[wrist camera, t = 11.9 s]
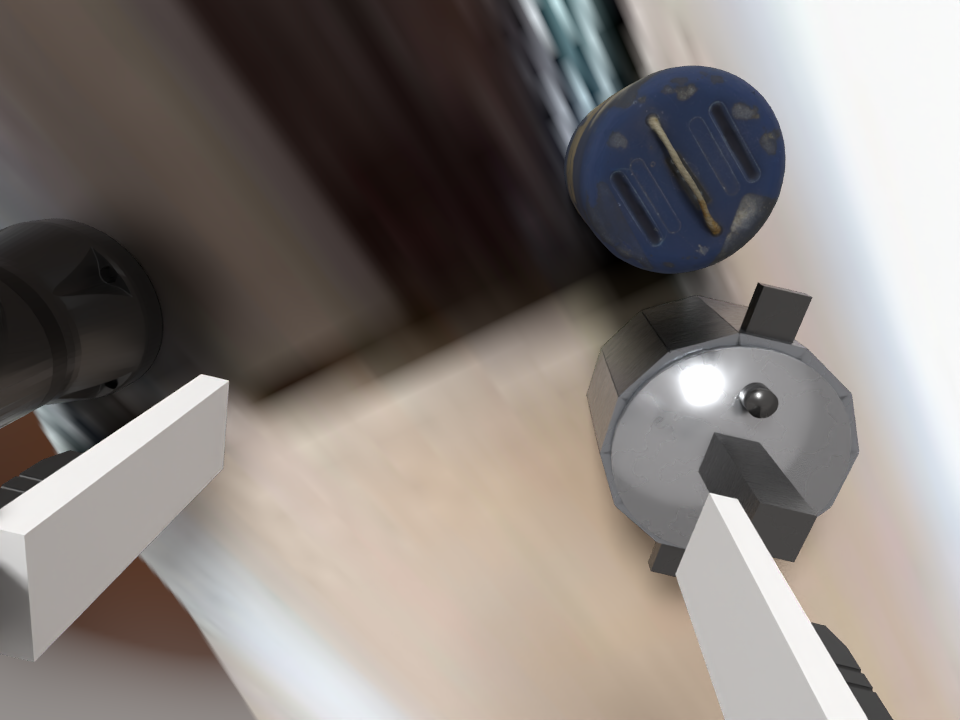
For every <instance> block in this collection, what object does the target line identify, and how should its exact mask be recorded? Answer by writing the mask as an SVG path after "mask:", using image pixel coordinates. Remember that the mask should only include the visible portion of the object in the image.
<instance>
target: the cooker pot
mask: <svg viewBox="0 0 960 720" xmlns="http://www.w3.org/2000/svg"><path fill="white" fill-rule="evenodd" d="M811 299H812V297H811V296H809V295H807V294H805V293H801V292H797V291H792V290H788V289H784V288H779V287H775V286H771V285H766V284H762V283H758V284H757V286H756V289H755V291H754V294H753V297H752V299H751V302H750V304H749V307H745V306H741V305H736V304H732V303H728V302H723V301H719V300H715V299H711V298H706V297H702V296H698V295H697V296H696V295H695V296H691V297H688V298H684V299H680V300H677V301H673V302H670V303H666V304H662V305H659V306H655V307H652V308H648V309H644V310H642V312H641V311H640V312H639V313H638V314H637V315H636V316H634V317H633V318H632V319H631V320H630V321H629V322H628V323H627V324H626V325H625V326H624V327H623V328H622V329H621V330H619V331H618V332H617V333H616V334H615V335H614V336H613V337H612V338H611V339H610V340H609V341H608V342H607V343H606V344H605V345H603V346H602V348H601V350H600V353H599V356H598V360H597V363H596V366H595V369H594V373H593V376H592V379H591V382H590V386H589V389H588V392H587V398H588V403H589V407H590V411H591V416H592V420H593V425H594V429H595V434H596V438H597V442H598V447H599V451H600V455H601V459H602V462H603V466H604V469H605V473H606V476H607V480H608V483H609V487H610V491H611V494H612V498H613V501H614V505H615V506H616V507H617V508H618V509H619V510H620V511H622V512H623V513H624V514H625V515H626V516H627V517H628V518H630V519H631V520H632V521H633V522H634V523H635V524H636V525H638V526H639V527H640V528H641V529H642V530H643V531H644V532H646V533H647V534H648V535H649V536H650V537H651V538H652V539H654V540H655V541H656V543H655V546H654V549H653V551H652V554H651V556H650V559H649V561H648V563H649V567H650V570H651V571H653V572H657V573H661V574H665V575H670V576H674V577H676V575H675V574H676V572H677V569H678V567H679V564H680V562H681V560H682V557H683V555H684V552H685V550H686V548H684V547H681V546H677V545H675V544H672V543H670V542H668V541H665V540H663V539H661V538H660V537H658V536H656V535H655V534H653V533H651V532H650V531H649V530H647V529H646V528H645V527H644V526H642V525H641V524H640V523H639V522H638V521H637V520H636V519H635V518H634V517H633V516H632V514H631V513H630V512H629V510H628V509H627V508H626V506H625V505H624V503H623V501H622V499H621V497H620V496H619V493H618V491H617V488H616V485H615V482H614V478H613V473H612V468H611V443H612V437H613V434H614V430H615V426H616V424H617V421H618V419H619V417H620V414H621V412H622V411H623V409H624V407H625V406H626V404H627V402H628V401H629V400H630V398H631V397H632V396H633V394H634V393H635V392H636V391H637V389H638V388H639V387H640V386H641V385H642V384H643V383H644V382H646V381H647V380H648V379H649V378H650V377H651V376H653V375H654V374H655V373H656V372H658V371H659V370H660V369H662V368H664V367H665V366H667V365H669V364H670V363H672V362H674V361H676V360H678V359H680V358H682V357H685V356H687V355H689V354H692V353H696V352H699V351H702V350H705V349H710V348H715V347H720V346H733V345H745V346H757V347H763V348H769V349H773V350H776V351H779V352H783V353H785V354H788V355H790V356H792V357H794V358H796V359H798V360H800V361H802V362H803V363H805V364H806V365H808V366H809V367H811V368H812V369H814V370H815V371H816V372H817V373H818V374H820V375H821V376H822V377H823V378H824V379H825V380H826V381H827V382H828V383H829V384H830V385H831V387H832V388H833V389H834V390H835V391H836V393H837V395H838V396H839V398H840V400H841V401H842V403H843V405H844V408H845V410H846V413H847V415H848V419H849V424H850V428H851V443H852V444H851V453H850V459H849V463H848V467H847V470H846V473H845V475H844V478H843V480H842V482H841V484H840V486H839V488H838V489H837V491H836V493H835V494H834V496H833V497H832V498H831V500H830V501H829V502H828V504H827V505H826V506H825V507H824V508H823V509H822V510H821V511H820V512H819V513H818V514H817V517H818V516H819V515H821V514H822V513H824V512H825V511H826V510H828V509H829V508H831V507H830V506H832V505H833V503H834V501H835V499H836V497H837V495H838V493H839V491H840V489H841V487H842V485H843V483H844V481H845V479H846V477H847V475H848V473H849V471H850V470H851V468H852V466H853V464H854V462H855V460H856V458H857V456H858V454H859V453H858V452H859V446H858V439H857V431H856V423H855V415H854V407H853V399H852V394H851V392H850V391H849V390H848V389H847V388H846V387H845V386H844V385H843V384H842V383H841V382H840V381H839V380H838V379H837V378H836V377H835V376H834V375H833V374H832V373H831V372H830V371H829V370H828V369H827V368H826V367H825V366H824V365H823V364H822V363H821V362H820V361H819V360H818V359H817V358H816V357H815V356H814V355H813V354H812V353H811V352H810V351H809V350H808V349H807V348H806V347H804V346H803V345H802V344H800V343H799V342H797V341H796V340H795V336H796V334H797V332H798V329H799V327H800V325H801V322H802V320H803V318H804V315H805V313H806V311H807V308H808V306H809V304H810V301H811Z"/></svg>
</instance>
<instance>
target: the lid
mask: <svg viewBox="0 0 960 720" xmlns="http://www.w3.org/2000/svg"><path fill="white" fill-rule="evenodd" d="M851 444H852V443H851V428H850V424H849V419H848V415H847V413H846V410H845V408H844V405H843V403H842V401H841V400H840V398H839V396H838V395H837V393H836V391H835V390H834V389H833V388H832V387H831V385H830V384H829V383H828V382H827V381H826V380H825V379H824V378H823V377H822V376H821V375H820V374H818V373H817V372H816V371H815V370H814V369H812V368H811V367H809V366H808V365H806V364H805V363H803V362H802V361H800V360H798V359H796V358H794V357H792V356H790V355H788V354H785V353H783V352H779V351H776V350H773V349H769V348H763V347H757V346H745V345H733V346H720V347H715V348H710V349H705V350H702V351H699V352H696V353H692V354H689V355H687V356H685V357H682V358H680V359H678V360H676V361H674V362H672V363H670V364H669V365H667V366H665V367H664V368H662V369H660V370H659V371H658V372H656V373H655V374H654V375H653V376H651V377H650V378H649V379H648V380H647V381H646V382H644V383H643V384H642V385H641V386H640V387H639V388H638V389H637V391H636V392H635V393H634V394H633V396H632V397H631V398H630V400H629V401H628V402H627V404H626V406H625V407H624V409H623V411H622V412H621V414H620V417H619V419H618V421H617V424H616V426H615V430H614V434H613V437H612V443H611V468H612V473H613V478H614V482H615V485H616V488H617V491H618V493H619V496H620V497H621V499H622V501H623V503H624V505H625V506H626V508H627V509H628V510H629V512H630V513H631V514H632V516H633V517H634V518H635V519H636V520H637V521H638V522H639V523H640V524H641V525H642V526H644V527H645V528H646V529H647V530H649V531H650V532H651V533H653V534H655V535H656V536H658V537H660V538H661V539H663V540H665V541H668V542H670V543H672V544H675V545H677V546H681V547H684V548H687V545H688V543H689V540H690V538H691V536H692V533H693V531H694V528H695V526H696V524H697V521H698V519H699V516H700V514H701V512H702V509H703V507H704V504H705V502H706V500H707V497H708V495H709V493H713V494H717V495H722V496H726V497H730V498H734V499H738V501H739V502H740V504H741V506H742V508H743V509H744V511H745V513H746V514H747V516H748V518H749V519H750V521H751V523H752V524H753V526H754V528H755V529H756V531H757V533H758V535H759V536H760V538H761V540H762V541H763V543H764V545H765V546H766V548H767V550H768V551H769V553H770V555H771V556H772V557H773V558H778V559H782V560H786V561H790V562H794V561H795V559H796V557H797V555H798V553H799V551H800V549H801V547H802V545H803V543H804V541H805V539H806V537H807V536H808V534H809V532H810V530H811V528H812V526H813V524H814V522H815V520H816V518H817V514H818V513H819V512H820V511H821V510H822V509H823V508H824V507H825V506H826V505H827V504H828V502H829V501H830V500H831V498H832V497H833V496H834V494H835V493H836V491H837V489H838V488H839V486H840V484H841V482H842V480H843V478H844V475H845V473H846V470H847V467H848V463H849V459H850V453H851Z"/></svg>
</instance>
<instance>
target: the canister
mask: <svg viewBox="0 0 960 720" xmlns="http://www.w3.org/2000/svg"><path fill="white" fill-rule="evenodd" d="M784 172H785V146H784V140H783V136H782V132H781V129H780V126H779V123H778V120H777V118H776V116H775V114H774V112H773V110H772V109H771V107H770V106H769V104H768V103H767V101H766V100H765V99H764V97H763V96H762V95H761V94H760V93H759V92H758V91H757V90H756V89H754V88H753V87H752V86H751V85H750V84H748V83H747V82H746V81H744V80H743V79H741V78H739V77H737V76H735V75H733V74H731V73H729V72H726V71H723V70H720V69H716V68H711V67H704V66H682V67H675V68H669V69H665V70H661V71H658V72H655V73H653V74H650V75H648V76H646V77H644V78H642V79H640V80H638V81H636V82H635V83H633V84H631V85H629V86H627V87H626V88H624V89H622V90H621V91H619V92H617V93H615V94H614V95H612V96H611V97H609V98H608V99H607V100H605V101H604V102H603V103H601V104H600V105H599V106H597V107H596V108H594V109H593V110H592V111H591V112H590V113H589V114H588V115H587V116H586V117H585V118H584V119H583V120H582V122H581V123H580V124H579V126H578V127H577V129H576V130H575V132H574V134H573V136H572V138H571V140H570V142H569V145H568V148H567V152H566V157H565V164H564V176H565V184H566V188H567V191H568V194H569V196H570V199H571V201H572V203H573V204H574V206H575V208H576V209H577V211H578V212H579V214H580V215H581V217H582V218H583V220H584V221H585V222H586V223H587V225H588V226H589V227H590V229H591V230H592V231H593V233H594V234H595V235H596V237H597V238H598V239H599V240H600V241H601V242H602V243H603V244H604V245H605V246H606V248H607V249H608V250H609V251H610V252H612V253H613V254H614V255H615V256H616V257H618V258H620V259H621V260H623V261H625V262H627V263H629V264H631V265H633V266H635V267H638V268H641V269H644V270H648V271H652V272H658V273H668V274H672V273H684V272H690V271H695V270H699V269H702V268H705V267H708V266H711V265H714V264H716V263H718V262H720V261H722V260H724V259H726V258H727V257H729V256H731V255H732V254H734V253H735V252H736V251H738V250H739V249H740V248H742V247H743V246H744V245H745V244H746V243H747V242H748V241H749V240H751V239H752V238H753V237H754V235H755V234H756V233H757V232H758V231H759V230H760V228H761V227H762V226H763V224H764V223H765V222H766V220H767V219H768V217H769V215H770V214H771V212H772V210H773V208H774V206H775V204H776V202H777V200H778V197H779V194H780V191H781V187H782V183H783V177H784Z"/></svg>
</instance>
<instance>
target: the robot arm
mask: <svg viewBox="0 0 960 720" xmlns="http://www.w3.org/2000/svg"><path fill="white" fill-rule="evenodd" d="M161 339H162V315H161V310H160V305H159V302H158V299H157V296H156V293H155V290H154V288H153V286H152V284H151V282H150V280H149V278H148V277H147V275H146V274H145V272H144V270H143V269H142V268H141V266H140V265H139V264H138V262H137V261H136V260H135V259H134V258H133V257H132V256H131V254H130V253H129V252H128V251H127V250H126V249H124V248H123V247H122V246H121V245H120V244H119V243H117V242H116V241H115V240H113V239H112V238H110V237H109V236H108V235H106V234H104V233H102V232H101V231H99V230H97V229H95V228H93V227H90V226H88V225H85V224H82V223H79V222H75V221H71V220H65V219H44V220H37V221H30V222H23V223H18V224H15V225H12V226H9V227H6V228H4V229H2V230H0V428H2V427H4V426H6V425H8V424H9V423H11V422H13V421H15V420H17V419H19V418H21V417H22V416H24V415H26V414H28V413H29V412H31V411H33V410H35V409H37V408H39V407H41V406H43V405H49V404H57V403H64V402H72V401H79V400H87V399H94V398H99V397H103V396H106V395H109V394H111V393H114V392H116V391H118V390H120V389H121V388H123V387H125V386H127V385H128V384H130V383H132V382H134V381H135V380H137V379H138V378H140V377H141V376H142V375H143V374H144V373H145V372H146V371H147V370H148V369H149V367H150V366H151V365H152V363H153V362H154V360H155V358H156V356H157V353H158V351H159V348H160V344H161ZM228 390H229V381H228V380H224V379H220V378H216V377H211V376H207V375H203V374H201V375H199V376H198V377H196V378H195V379H193V380H192V381H190V382H189V383H187V384H186V385H184V386H183V387H181V388H180V389H178V390H177V391H175V392H174V393H172V394H171V395H169V396H168V397H166V398H165V399H163V400H162V401H161V402H159V403H158V404H156V405H155V406H153V407H152V408H150V409H149V410H147V411H146V412H144V413H143V414H141V415H140V416H138V417H137V418H135V419H134V420H132V421H131V422H129V423H128V424H126V425H125V426H123V427H122V428H120V429H119V430H117V431H116V432H114V433H113V434H111V435H110V436H108V437H107V438H105V439H104V440H102V441H101V442H99V443H98V444H96V445H95V446H93V447H92V448H90V449H89V450H88V451H86V452H85V453H79V452H75V451H71V450H69V451H66V452H64V453H61V454H58V455H55V456H52V457H49V458H46V459H43V460H41V461H40V462H38V463H36V464H35V465H33V466H32V467H30V468H28V469H27V470H25V471H24V472H22V473H20V476H19V477H14V478H13V479H11V480H9V481H8V482H6V483H4V484H3V485H2V487H1V488H0V654H2V655H6V656H11V657H15V658H19V659H23V660H27V661H32V662H35V661H36V660H37V659H38V658H39V657H40V656H41V655H42V653H44V652H45V651H46V650H47V648H48V647H49V646H50V645H51V644H52V643H53V642H54V641H55V640H56V639H57V638H58V637H59V636H60V635H61V634H62V633H63V632H64V631H65V630H66V629H67V628H68V627H69V626H70V625H71V624H72V623H73V622H74V621H75V620H76V619H77V618H78V617H79V616H80V614H82V612H84V610H86V609H87V607H89V605H90V604H91V603H92V602H93V601H94V600H95V599H96V598H97V597H98V596H99V595H100V594H101V593H102V592H103V591H104V590H105V589H106V588H107V587H108V586H109V585H110V584H111V583H112V582H113V581H114V580H115V579H116V578H117V577H118V576H119V575H120V574H121V573H122V572H123V571H124V570H125V569H126V567H127V566H129V564H130V563H131V562H132V561H133V560H134V559H135V558H136V557H137V556H138V555H139V554H140V553H141V552H142V551H143V550H144V549H145V548H146V547H147V546H148V545H149V544H150V543H151V542H152V541H153V540H154V539H155V538H156V537H157V536H158V535H159V534H160V533H161V532H162V531H163V530H164V529H165V528H166V527H167V526H168V525H169V524H170V522H171V521H172V520H173V519H174V518H175V517H176V516H177V515H178V514H179V513H180V512H181V511H182V510H183V509H184V508H185V507H186V506H187V505H188V504H189V503H190V502H191V501H192V500H193V499H194V498H195V497H196V496H197V495H198V494H199V493H200V492H201V491H202V490H203V489H204V488H205V487H206V486H207V485H208V484H209V483H210V482H211V480H212V479H213V478H214V477H215V476H216V475H217V474H218V473H219V472H220V471H221V470H222V469H223V466H224V451H225V436H226V420H227V405H228ZM675 575H676V577H677V580H678V583H679V586H680V589H681V592H682V595H683V598H684V601H685V604H686V607H687V610H688V613H689V616H690V619H691V622H692V625H693V628H694V630H695V633H696V636H697V639H698V642H699V645H700V648H701V651H702V654H703V657H704V660H705V663H706V666H707V669H708V672H709V675H710V678H711V680H712V683H713V686H714V689H715V692H716V695H717V698H718V701H719V704H720V707H721V710H722V713H723V716H724V719H725V720H893V719H892V717H891V716H890V714H889V713H888V711H887V709H886V708H885V706H884V705H883V703H882V702H881V700H880V698H879V697H878V695H877V694H876V692H873V691H872V688H873V687H872V686H871V684H870V683H869V681H868V680H867V678H866V676H865V675H864V674H862V673H861V669H860V667H859V665H858V664H857V662H856V661H855V659H854V658H853V656H852V654H851V653H850V651H849V650H848V648H847V647H846V646H845V645H844V644H843V643H842V642H841V641H840V640H839V639H838V638H837V637H836V636H835V635H834V634H833V633H832V632H831V631H830V630H829V629H828V628H827V627H826V626H824V625H820V624H816V623H812V622H810V621H809V619H808V617H807V616H806V614H805V612H804V610H803V609H802V607H801V605H800V604H799V602H798V600H797V599H796V597H795V595H794V594H793V592H792V590H791V589H790V587H789V585H788V583H787V582H786V580H785V578H784V577H783V575H782V573H781V572H780V570H779V568H778V567H777V565H776V563H775V562H774V560H773V558H772V556H771V555H770V553H769V551H768V550H767V548H766V546H765V545H764V543H763V541H762V540H761V538H760V536H759V535H758V533H757V531H756V529H755V528H754V526H753V524H752V523H751V521H750V519H749V518H748V516H747V514H746V513H745V511H744V509H743V508H742V506H741V504H740V502H739V501H738V499H734V498H730V497H726V496H722V495H717V494H713V493H709V495H708V497H707V500H706V502H705V504H704V507H703V509H702V512H701V514H700V516H699V519H698V521H697V524H696V526H695V528H694V531H693V533H692V536H691V538H690V540H689V543H688V545H687V548H686V550H685V552H684V555H683V557H682V560H681V562H680V564H679V567H678V569H677V572H676V574H675Z"/></svg>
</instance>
